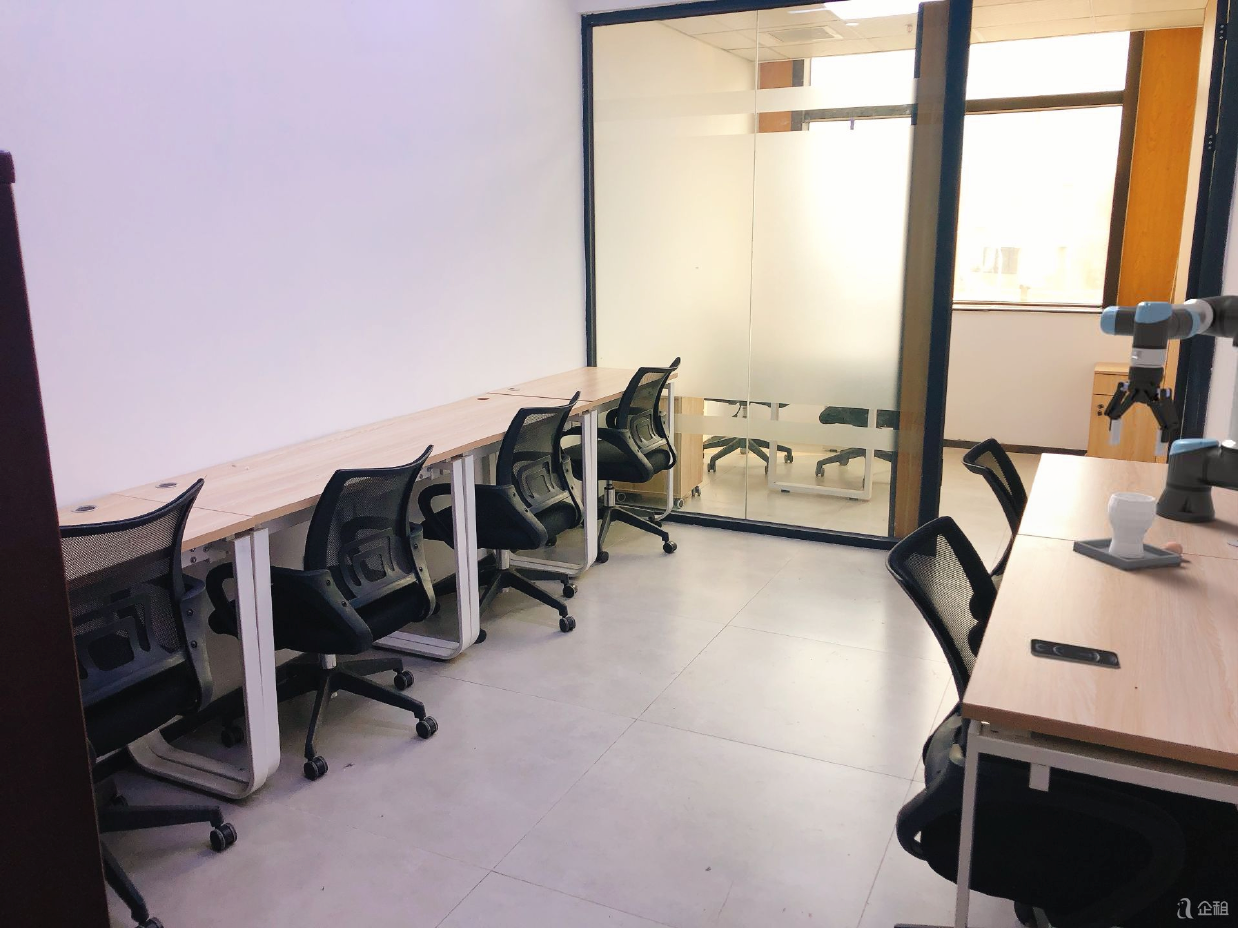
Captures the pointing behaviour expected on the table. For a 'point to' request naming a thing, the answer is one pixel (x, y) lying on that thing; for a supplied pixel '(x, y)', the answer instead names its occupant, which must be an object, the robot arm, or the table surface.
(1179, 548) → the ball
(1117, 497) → the cup
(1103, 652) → the smartphone
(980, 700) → the table surface
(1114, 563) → the tray
